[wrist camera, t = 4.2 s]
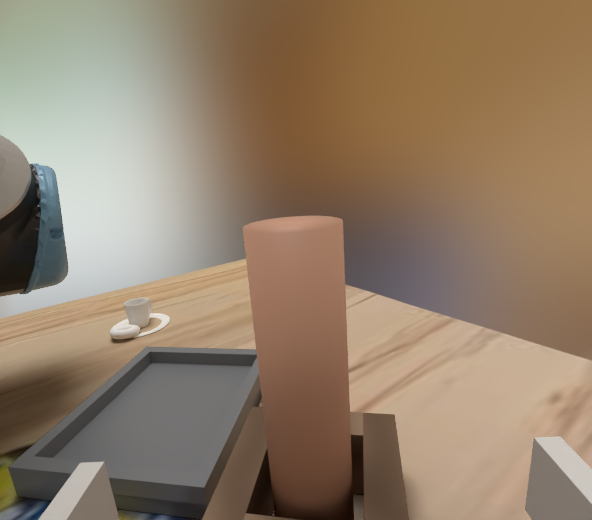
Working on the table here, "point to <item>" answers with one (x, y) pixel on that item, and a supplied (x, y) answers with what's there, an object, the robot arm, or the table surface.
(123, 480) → the tray
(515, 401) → the table surface
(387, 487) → the socket block
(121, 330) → the teacup and saucer
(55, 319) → the table surface
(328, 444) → the dowel
